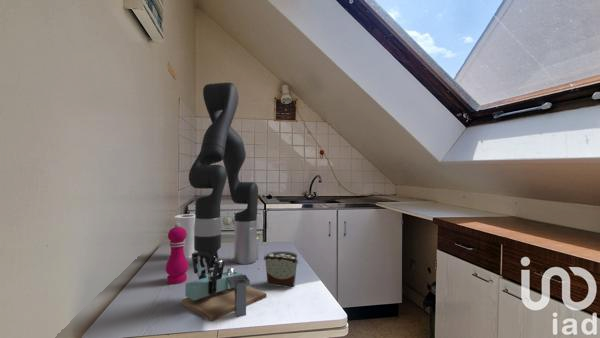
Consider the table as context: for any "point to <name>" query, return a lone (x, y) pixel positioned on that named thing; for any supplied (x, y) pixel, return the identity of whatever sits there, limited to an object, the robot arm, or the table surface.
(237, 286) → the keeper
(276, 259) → the food container
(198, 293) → the teal bar with hole
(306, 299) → the table surface
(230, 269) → the capsule
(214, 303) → the board
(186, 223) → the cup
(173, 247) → the pepper mill
